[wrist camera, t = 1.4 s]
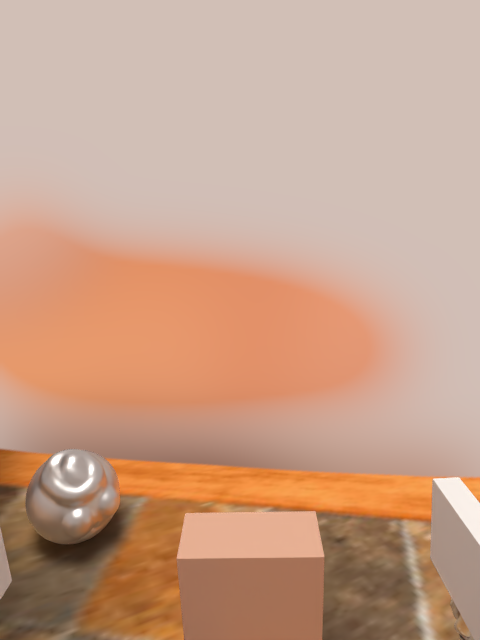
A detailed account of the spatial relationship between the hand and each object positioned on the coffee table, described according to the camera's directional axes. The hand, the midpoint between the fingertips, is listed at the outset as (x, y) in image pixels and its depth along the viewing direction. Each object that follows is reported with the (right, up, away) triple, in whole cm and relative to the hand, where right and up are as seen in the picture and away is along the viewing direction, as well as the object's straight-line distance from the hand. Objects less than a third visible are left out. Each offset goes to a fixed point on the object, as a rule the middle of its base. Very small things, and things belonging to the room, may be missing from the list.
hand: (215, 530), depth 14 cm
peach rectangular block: (+2, -19, +20) cm, 28 cm away
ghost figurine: (-16, -16, +33) cm, 40 cm away
